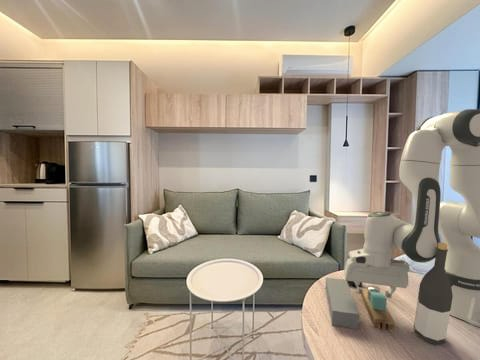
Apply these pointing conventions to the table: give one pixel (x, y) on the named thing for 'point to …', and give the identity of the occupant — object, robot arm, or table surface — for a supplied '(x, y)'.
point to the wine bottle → (434, 301)
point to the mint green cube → (378, 301)
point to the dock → (341, 303)
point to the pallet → (377, 314)
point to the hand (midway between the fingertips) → (373, 295)
